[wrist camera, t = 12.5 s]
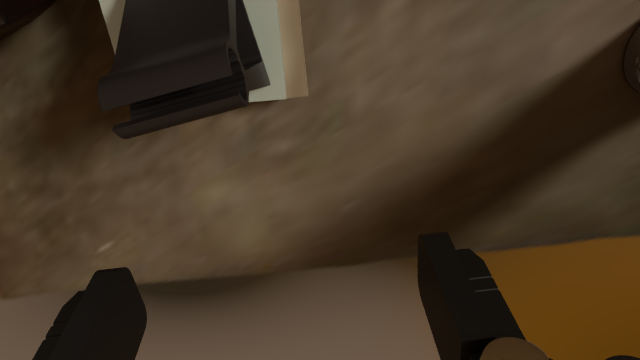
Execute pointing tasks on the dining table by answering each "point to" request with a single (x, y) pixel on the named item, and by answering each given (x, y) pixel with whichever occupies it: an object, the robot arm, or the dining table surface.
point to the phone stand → (181, 63)
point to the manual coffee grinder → (19, 13)
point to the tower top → (266, 31)
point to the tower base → (292, 48)
